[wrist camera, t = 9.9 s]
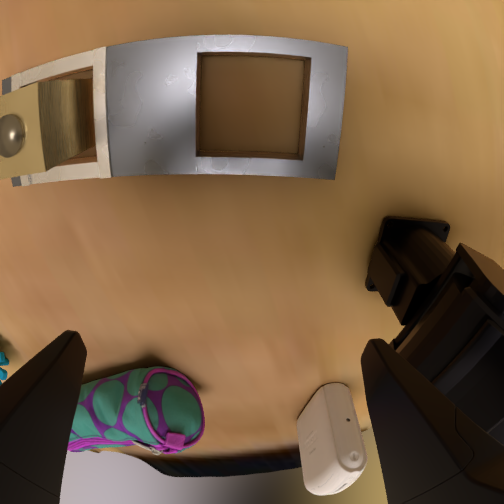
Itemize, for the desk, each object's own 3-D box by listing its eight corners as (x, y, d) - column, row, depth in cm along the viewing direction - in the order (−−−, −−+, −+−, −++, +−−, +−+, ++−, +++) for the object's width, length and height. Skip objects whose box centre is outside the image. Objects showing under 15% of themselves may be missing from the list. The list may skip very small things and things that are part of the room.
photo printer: (319, 381, 30) (339, 482, 19) (353, 381, 31) (378, 475, 20) (291, 421, 35) (301, 502, 25) (320, 420, 36) (334, 498, 25)
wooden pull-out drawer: (97, 78, 14) (34, 82, 8) (100, 142, 17) (42, 173, 11) (45, 91, 14) (-21, 105, 8) (50, 150, 16) (-11, 182, 11)
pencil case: (156, 341, 26) (136, 431, 18) (209, 387, 30) (205, 466, 22) (53, 378, 31) (31, 434, 23) (98, 411, 35) (84, 465, 27)
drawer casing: (338, 50, 14) (349, 46, 12) (326, 171, 18) (335, 180, 16) (17, 78, 13) (0, 80, 11) (26, 178, 17) (11, 187, 15)
